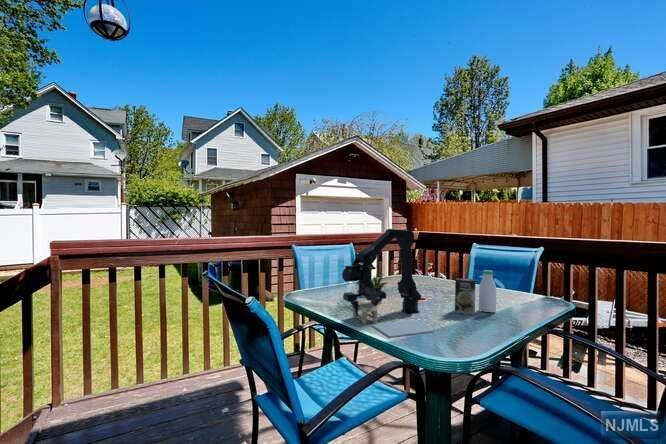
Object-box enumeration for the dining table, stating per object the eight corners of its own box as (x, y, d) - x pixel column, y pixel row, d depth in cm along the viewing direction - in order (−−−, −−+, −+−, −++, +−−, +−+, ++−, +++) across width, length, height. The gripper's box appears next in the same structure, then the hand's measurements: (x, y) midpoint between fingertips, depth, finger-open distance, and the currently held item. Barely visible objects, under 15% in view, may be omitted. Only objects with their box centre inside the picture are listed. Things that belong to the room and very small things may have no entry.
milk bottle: (498, 314, 162) (498, 272, 162) (480, 313, 164) (481, 271, 163) (493, 309, 170) (494, 269, 169) (477, 308, 171) (477, 269, 171)
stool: (365, 316, 157) (365, 300, 157) (377, 322, 147) (377, 306, 147) (352, 317, 155) (353, 302, 155) (363, 324, 145) (363, 308, 144)
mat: (412, 321, 150) (412, 319, 150) (433, 331, 136) (433, 330, 136) (371, 326, 142) (371, 324, 142) (389, 337, 128) (389, 336, 128)
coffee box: (454, 313, 163) (454, 279, 163) (455, 309, 169) (455, 277, 169) (475, 315, 159) (475, 281, 159) (475, 311, 165) (475, 278, 165)
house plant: (365, 307, 172) (365, 275, 172) (358, 300, 186) (358, 271, 186) (392, 306, 175) (392, 274, 175) (382, 299, 189) (383, 270, 189)
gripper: (353, 284, 140) (352, 322, 140) (392, 281, 146) (392, 318, 147) (342, 279, 150) (342, 315, 150) (380, 277, 157) (380, 311, 157)
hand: (364, 315), depth 151 cm, fingers open, 7 cm apart
